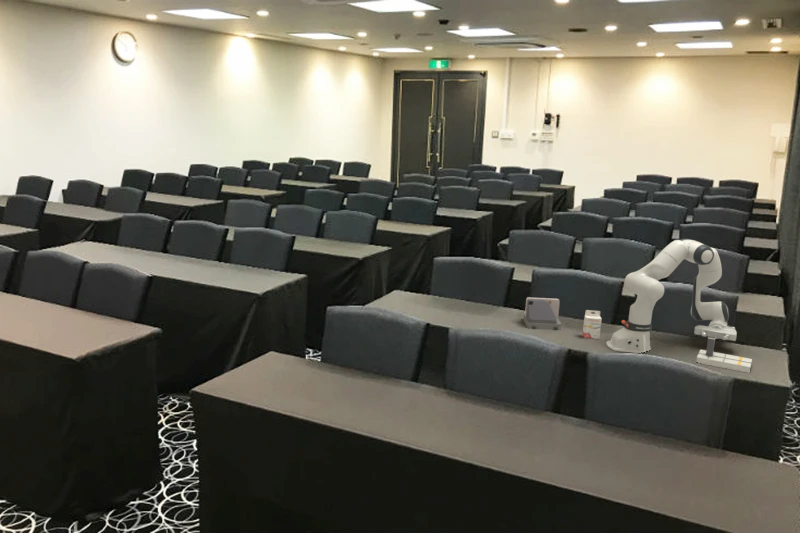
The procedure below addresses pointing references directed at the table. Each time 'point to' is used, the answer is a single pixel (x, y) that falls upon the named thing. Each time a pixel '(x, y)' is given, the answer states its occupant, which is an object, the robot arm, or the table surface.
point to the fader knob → (710, 345)
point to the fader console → (725, 361)
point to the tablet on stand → (542, 313)
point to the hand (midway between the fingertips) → (713, 336)
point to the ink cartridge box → (592, 324)
